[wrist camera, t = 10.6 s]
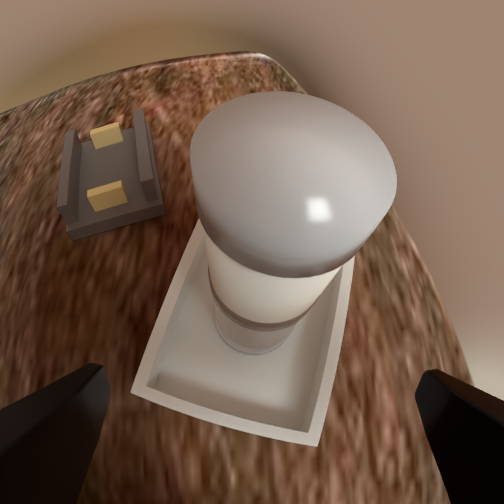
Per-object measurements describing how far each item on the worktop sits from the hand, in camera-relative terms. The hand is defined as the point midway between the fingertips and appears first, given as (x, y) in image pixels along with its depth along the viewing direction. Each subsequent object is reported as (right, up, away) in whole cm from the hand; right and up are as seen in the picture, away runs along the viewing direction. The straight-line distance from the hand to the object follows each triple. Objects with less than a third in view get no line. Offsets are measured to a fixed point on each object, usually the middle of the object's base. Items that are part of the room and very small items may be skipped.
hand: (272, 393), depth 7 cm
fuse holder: (-11, +9, +14) cm, 20 cm away
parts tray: (0, 0, +10) cm, 10 cm away
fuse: (0, 0, +9) cm, 9 cm away
